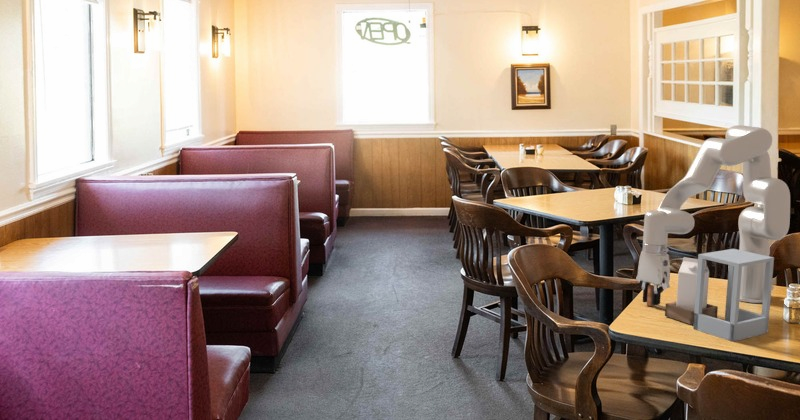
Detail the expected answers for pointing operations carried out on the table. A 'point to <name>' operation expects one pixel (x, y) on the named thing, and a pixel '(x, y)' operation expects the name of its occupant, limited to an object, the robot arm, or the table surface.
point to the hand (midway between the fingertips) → (651, 302)
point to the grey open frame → (734, 297)
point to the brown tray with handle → (680, 309)
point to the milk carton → (690, 284)
